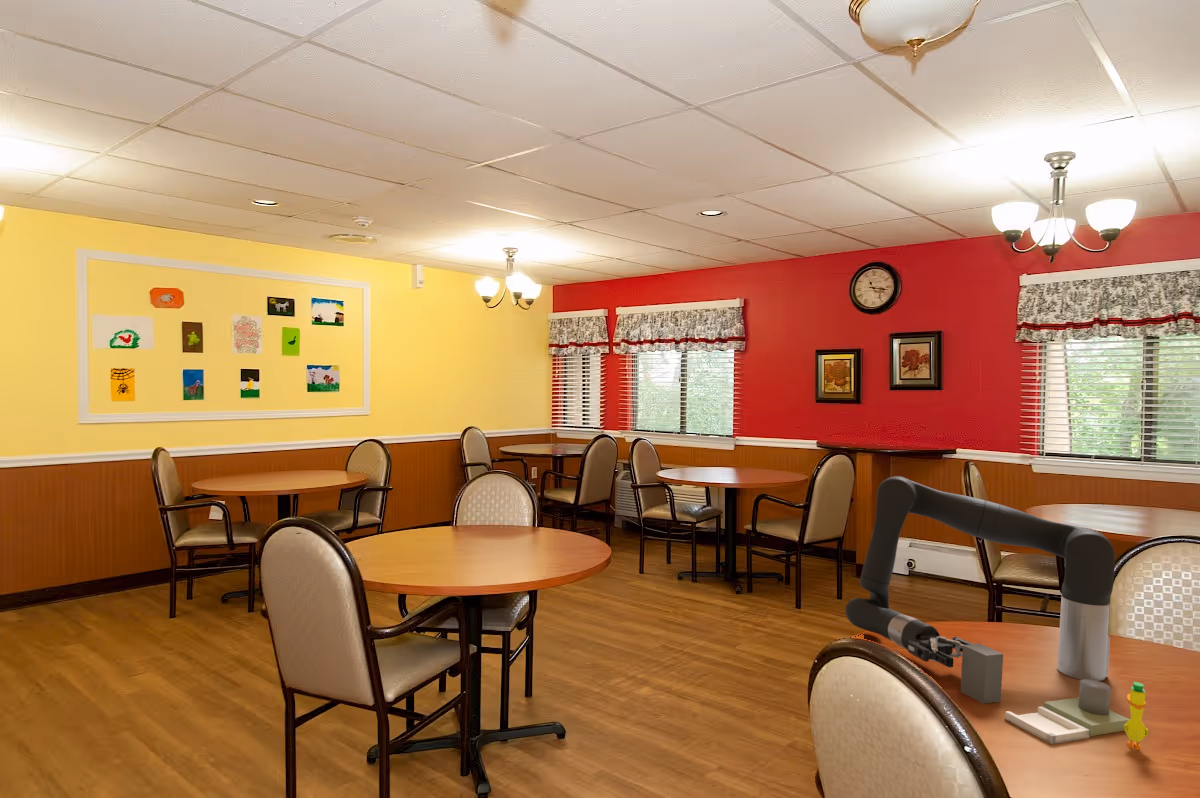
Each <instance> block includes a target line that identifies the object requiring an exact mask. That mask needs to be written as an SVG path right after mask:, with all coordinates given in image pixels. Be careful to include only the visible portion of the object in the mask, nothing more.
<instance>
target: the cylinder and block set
mask: <svg viewBox="0 0 1200 798" xmlns="http://www.w3.org/2000/svg"><path fill="white" fill-rule="evenodd" d="M1111 690H1112V688H1111V686H1110V685H1108V683H1105V682H1102V681H1095V680H1089V679H1083V680H1082V679H1079V692H1078V693H1079V694H1078V696H1077V697H1073V698H1064V699H1057V700H1050V701H1044V704H1043V706H1037V712H1030V713H1024V714H1016V713H1014V712H1012V711H1010V710H1006V711H1005V713H1004V720H1006V721H1007V722H1009V721H1010V722H1009V723H1012V724H1013V725H1014V726H1015V725H1016V727H1019V728H1021V729H1023V730H1024V731H1026V732H1028V733H1030V734H1031V735H1034V736H1036V737H1038V738H1039V739H1041V740H1043V741H1044V742H1046V743H1048V744H1049V745H1054V744H1055V745H1056V744H1061V743H1068V742H1074V741H1079V740H1085V739H1086V740H1087V739H1090V736H1091V737H1093V736H1100V735H1105V734H1111V733H1116V732H1122V731H1124V724H1125V723H1126V722H1127V721H1129V720H1130V719H1131V718H1129V717H1126V716H1124V715H1121V714H1119V713H1116V712H1114V711H1112V710H1111V709H1110V707H1111V703H1110V702H1111ZM1124 732H1125V731H1124Z"/></svg>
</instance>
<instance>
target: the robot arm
mask: <svg viewBox="0 0 1200 798" xmlns="http://www.w3.org/2000/svg"><path fill="white" fill-rule="evenodd" d="M908 514H911V515H913V514H914V515H917V516H922V517H925V518H926V517H927V518H929V519H933V520H935V521H938V522H941V523H942V524H944V525H946V526H949V527H951V528H953V529H954V530H957V531H960V532H961V533H964V534H967V535H969V536H971V537H976V538H980V539H982V540H985V541H989V542H993V543H997V544H1002V545H1007V546H1015V547H1016V546H1017V547H1025V548H1027V547H1028V548H1031V549H1036V550H1041V551H1043V552H1046V553H1050V554H1052V555H1054V556H1058V557H1060V558H1063V559H1065V563H1064V564H1065V565H1064V567H1065V568H1064V577H1063V582H1062V585H1061V600H1060V616H1059V633H1058V634H1059V635H1058V647H1057V648H1058V649H1057V650H1058V651H1057V664H1056V665H1057V666H1056V667H1057V670H1058V671H1059V672H1060V673H1062V674H1064V675H1066V676H1068V677H1071V678H1074V679H1079V680H1083V679H1089V680H1095V681H1099V682H1102V681H1104V680H1105V679H1106V677H1109V676H1108V675H1109V663H1110V662H1109V661H1110V646H1111V645H1110V643H1111V635H1109V626H1110V625H1109V621H1110V607H1111V606H1110V605H1111V604H1110V603H1111V596H1112V593H1113V589H1114V580H1115V579H1114V578H1115V564H1116V552H1115V551H1116V550H1115V548H1114V546H1113V544H1112V542H1111V541H1110V540H1109V539H1108V538H1107V537H1106V536H1105V535H1104V534H1103V533H1101V532H1100V531H1098V530H1096V529H1093V528H1091V527H1090V528H1089V527H1084V526H1079V525H1073V524H1066V523H1061V522H1056V521H1052V520H1048V519H1044V518H1041V517H1038V516H1035V515H1032V514H1030V513H1027V512H1025V511H1021V510H1019V509H1015V508H1013V507H1009V506H1007V505H1004V504H1000V503H996V502H992V501H990V500H985V499H982V498H977V497H973V496H968V495H963V494H958V493H952V492H946V491H942V490H939V489H935V488H932V487H929V486H926V485H923V484H921V483H919V482H916V481H913V480H910V479H909V478H906V477H904V476H899V475H895V476H890V477H887V478H886V479H884V480H883V481H882V482H880V484H879V485H878V487H877V489H876V511H875V520H874V526H873V530H872V534H871V539H870V542H869V545H868V548H867V552H866V555H865V558H864V562H863V565H862V571H861V574H860V578H859V585H860V587H862V588H863V590H866V591H868V592H869V598H863V597H854V598H851V599H850V600H849V601H848V602H847V603H846V605H845V608H844V609H845V610H844V612H845V617H846V618H847V620H848V621H849V622H850V623H851V624H852V625H853V626H855V627H856V628H860V629H862V630H865V631H868V632H871V633H875V634H877V635H880V636H882V637H883V638H885V639H888V640H889V641H891V642H893V643H894V644H896V645H897V646H899V647H901V648H903V649H905V650H907V652H908V653H909V654H911V655H913V656H915V657H916V658H918V659H920V660H921V661H924V662H929V660H930V661H932V662H933V663H940V664H941V665H943V666H945V667H947V668H954V658H957V659H959V658H960V657H961V658H962V656H963V645H969V644H973V643H972V642H970V641H968V640H964V639H963V638H960V637H958V636H952V639H951V638H947V637H946V636H942V635H940V633H939V631H938V630H937V628H936V627H934V626H933V625H931V624H929V623H926V622H924V621H921V620H919V619H918V618H915V617H913V616H909V615H906V614H904V613H901V612H899V611H897V610H894V609H892V608H890V603H889V602H890V596H889V594H890V593H889V587H890V582H891V580H892V575H893V571H894V568H895V562H896V557H897V549H898V544H899V543H898V542H899V540H900V535H901V532H902V529H903V526H904V524H905V520H906V519H907V517H908ZM953 649H954V650H955V652H953Z"/></svg>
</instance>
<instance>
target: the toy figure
mask: <svg viewBox="0 0 1200 798" xmlns="http://www.w3.org/2000/svg"><path fill="white" fill-rule="evenodd" d="M1144 687H1145V686H1144V684H1143V683H1141V682H1138V681H1133V682H1132V686H1130V693H1128V694H1127V695H1126V697H1127V699H1126V700H1127V702H1128V704H1129V710H1130V712H1129V713H1130V718H1129V719H1130V720H1129V721H1127V722H1126V723H1125V724H1124V732H1125V734H1126V736H1127V738H1129V739H1128V740H1127V742H1126V745H1127V747H1128V748H1130V749H1132V750H1134V749H1135V750H1137V751H1140V750H1141V749H1140V748H1141V744H1140V742H1141V741H1143V739H1145V737H1148V736H1149V732H1150V731H1149V728H1147V727H1146V726H1145V724H1144V722H1143V721H1142V719H1143V713H1144V710H1145V707H1146V706H1147V703H1146V701H1145V699H1146V690H1145V689H1144Z"/></svg>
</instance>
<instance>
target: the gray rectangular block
mask: <svg viewBox="0 0 1200 798" xmlns="http://www.w3.org/2000/svg"><path fill="white" fill-rule="evenodd" d="M962 653H963V656H962V657H961V676H960V677H961V678H960V690H959V691H960V693H962V694H964V695H966V696H968V697H971V698H972V699H974V700H976V701H978V702H979V703H981V704H983V705H985V703H987V704H992V702H994V703H1000V701H1001V699H1002V698H1001V697H1002V684H1003V683H1002V681H1003V680H1002V678H1003V667H1004V666H1003V664H1004V663H1003V662H1004V653H1002V652H1000V651H997V650H995V649H993V648H991V647H989V646H986V645H984V644H982V643H980V642H979V643H972V644H969V645H963V652H962Z"/></svg>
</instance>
